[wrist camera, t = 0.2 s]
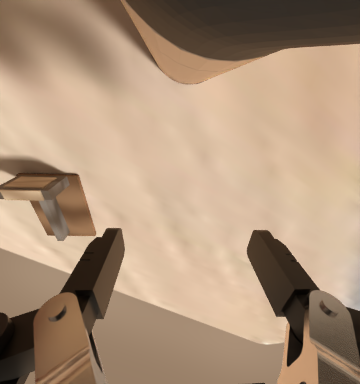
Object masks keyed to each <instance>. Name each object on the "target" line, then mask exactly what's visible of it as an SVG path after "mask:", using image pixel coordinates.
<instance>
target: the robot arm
mask: <svg viewBox="0 0 360 384" xmlns="http://www.w3.org/2000/svg"><path fill="white" fill-rule="evenodd" d="M121 2H122V4H123V6H124V7H125V9H126V11H127V12H128V14H129V15H130V17H131V19H132V21H133V23H134V24H135V26H136V28H137V30H138V31H139V33H140V35H141V37H142V38H143V40H144V42H145V44H146V45H147V47H148V49H149V51H150V52H151V54H152V56H153V58H154V59H155V61H156V63H157V65H158V66H159V68H160V69H161V70H162V71H163V72H164V74H165V75H167V76H168V77H169V78H171V79H172V80H174V81H176V82H178V83H182V84H198V83H201V82H204V81H206V80H208V79H210V78H213V77H215V76H218V75H220V74H223V73H225V72H228V71H230V70H233V69H235V68H238V67H240V66H242V65H245V64H247V63H250V62H252V61H255V60H257V59H260V58H262V57H265V56H267V55H269V54H272V53H274V52H277V51H280V50H282V49H288V48H299V47H314V46H331V45H348V44H360V0H121ZM124 251H125V246H124V240H123V235H122V230H121V228H107V229H106V231H105V232H104V234H103V236H102V237H96V238H95V239H94V240H93V241H92V242H91V243H90V244H89V245H88V247H87V248H86V250H85V252H84V254H83V255H82V257H81V258H80V261H79V262H78V264H77V265H76V267H75V269H74V270H73V272H72V274H71V275H70V277H69V279H68V281H67V282H66V284H65V286H64V287H63V289H62V290H61V292H60V293H59V294H58V295H56V296H54V297H52V298H51V299H49V300H48V301H47V302H46V303H44V304H43V305H42V306H41V308H40V309H37V310H34V311H31V312H28V313H25V314H22V315H19V316H15V317H12V318H9V317H8V316H7V315H6V314H4V313H0V384H24V383H25V381H26V379H27V377H28V375H29V373H30V372H33V371H35V384H108V382H107V380H106V377H105V374H104V370H103V367H102V363H101V360H100V356H99V353H98V349H97V345H96V342H95V338H94V335H93V331H92V328H93V326H94V323H95V320H96V319H104V316H105V313H106V310H107V307H108V304H109V301H110V297H111V294H112V291H113V288H114V285H115V282H116V279H117V276H118V273H119V270H120V266H121V263H122V260H123V257H124ZM247 255H248V258H249V260H250V262H251V264H252V266H253V269H254V271H255V273H256V275H257V277H258V279H259V281H260V283H261V285H262V287H263V290H264V292H265V294H266V296H267V298H268V300H269V302H270V304H271V306H272V308H273V311H274V313H275V315H276V317H286V319H287V320H288V323H287V326H286V335H285V345H284V354H283V364H282V370H281V373H280V375H279V378H278V381H277V384H360V311H358V310H354V309H351V308H348V307H345V306H344V305H343V304H342V303H341V302H340V301H339V300H338V299H337V298H335V297H334V296H332V295H330V294H329V293H326V292H324V291H320V290H319V288H318V287H317V286H316V285H315V283H314V282H313V281H312V279H311V278H310V277H309V275H308V274H307V273H306V272H305V270H304V269H303V268H302V266H301V265H300V264H299V263H298V262H297V260H296V259H295V257H294V256H293V255H292V253H291V252H290V251H289V250H288V248H287V247H286V246H285V245H284V244H283V243H281V242H280V241H279V240H278V239H274V237H273V236H272V235H271V233H270V232H269V231H268V230H254V231H253V233H252V235H251V238H250V241H249V244H248V247H247ZM255 384H265V383H255Z"/></svg>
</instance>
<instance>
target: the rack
mask: <svg viewBox="0 0 360 384" xmlns="http://www.w3.org/2000/svg"><path fill="white" fill-rule="evenodd" d="M0 199H5V200H30V202H31V204H32V206H33V208H34V210H35V212H36V214H37V216H38V218H39V220H40V222H41V223H42V225H43V227H44V229H45V231H46V233H47V235H53V236H56V238H57V240H58V241H64V239H65V238H66V237H67V236H95V235H96V231H95V228H94V224H93V221H92V218H91V214H90V211H89V208H88V204H87V201H86V198H85V194H84V191H83V188H82V185H81V181H80V178H79V175H64V174H29V173H19V174H17V177H15V178H13V179H11V180H9V181H7V182H6V183H4V184H2V185H0Z"/></svg>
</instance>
